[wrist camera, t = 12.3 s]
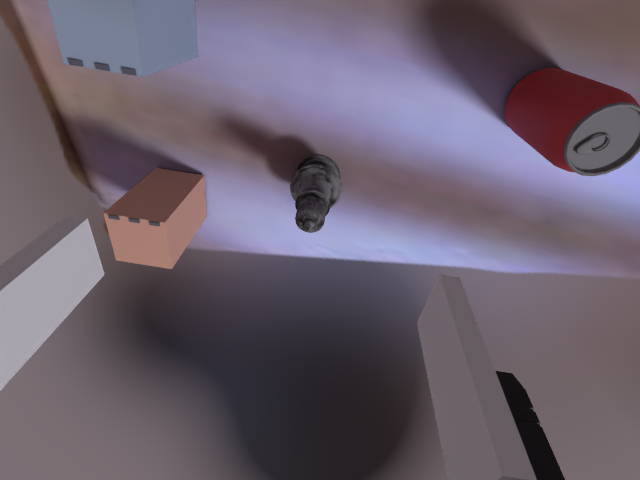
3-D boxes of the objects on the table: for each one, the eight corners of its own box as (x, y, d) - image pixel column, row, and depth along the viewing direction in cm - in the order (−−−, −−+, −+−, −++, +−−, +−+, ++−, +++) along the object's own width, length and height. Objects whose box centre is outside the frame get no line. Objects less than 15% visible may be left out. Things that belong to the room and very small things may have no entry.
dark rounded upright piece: (302, 145, 40) (286, 193, 30) (350, 162, 41) (349, 215, 31) (288, 188, 43) (269, 244, 33) (332, 203, 44) (326, 262, 34)
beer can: (497, 84, 35) (554, 118, 25) (570, 54, 33) (663, 78, 23) (506, 143, 38) (560, 193, 28) (574, 119, 36) (657, 164, 26)
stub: (156, 167, 43) (102, 213, 34) (204, 175, 43) (164, 223, 34) (162, 209, 46) (115, 261, 37) (206, 216, 46) (171, 269, 37)
